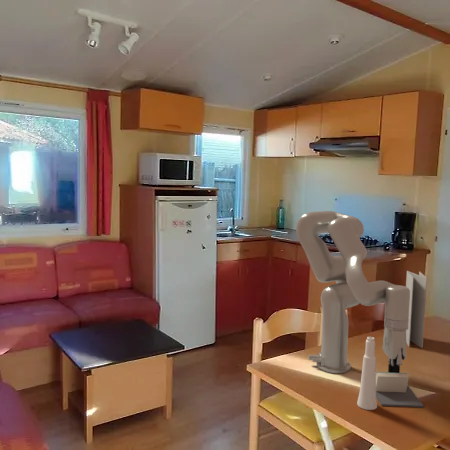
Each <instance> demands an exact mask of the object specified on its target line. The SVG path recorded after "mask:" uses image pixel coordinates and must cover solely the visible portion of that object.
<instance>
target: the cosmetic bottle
mask: <svg viewBox="0 0 450 450" xmlns="http://www.w3.org/2000/svg"><path fill="white" fill-rule="evenodd" d="M375 349H376V341H375V337H373V336H367V337H366V340H365V352H364V355H363V358H362V367H361V377H360V378H361V379H360V387H359V393H358V397H357V402H356V405H357V406H358V407H359V408H361V409H363V410H366V411H367V410H368V411H373V410H376V409H377V408H378V403H377V402H378V399H377V397H376V372H377V367H376V366H377V357H376V356H375V352H376V351H375Z"/></svg>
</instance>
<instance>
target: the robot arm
mask: <svg viewBox="0 0 450 450" xmlns="http://www.w3.org/2000/svg"><path fill="white" fill-rule="evenodd" d="M364 227H365V226H364V225H363V223H362V221H361V220H360V219H359V218H357V217H355V216H352V215H349V214H344V213H340V212H337V211H332V210H321V211H319V210H318V211H310V212H305V213H304V214H302V215H301V216H300V217H299V218H298V220H297V223H296V237H297V239H298V241H299V244H300V245H301V247H302V249H303V252H304V253H305V256H306V258H307V260H308V263H309V265H310V268H311V270H312V273H313V275H314V276H315V278H316V281H318V282H319V283H323V284H324V283H332V282H335V283H334V284H330V285H327V286H326V287H325V288H323V290H322V292H321V294H320V303H321V313H322V316H321V317H322V318H321V319H322V321H321V349H320V350H321V351H319V354H308V356H307V357H308V358H307V359H308V360H309V361H310V360H311V361H312V362H313V363H316V367H317V368H318V369H319V370H321V371H324V372H327V373H331V374H345V373H348V372H350V371H351V369H352V366H351V364H350V362H348V346H349V345H348V344H349V317H348V314H347V312H346V309H349V308H352V307H355V306H358V305H359V304H361V305H362V306H366V307H370V306H371V307H372V306H375V305H378V304H384V319H383V320H384V322H383V323H384V324H383V327H384V328H383V329H384V330H383V337H382V339H383V340H382V351H383V353H384V354H385V355H386V356H387V357H388V367H387V368H388V369H387V372H391V373H401V372H400V371H401V366H402V365H403V361H405V360H406V358H407V343H406V330H408V323H409V304H410V290H409V288H407V287H406V285H401V284H400V285H399V284H394V283H391V282H389V281H386V280H383V279H382V280H375V281H371V282H369V281H368V280H367V278H366V276H365V275H364V271H363V269H362V267H363V266H362V264H363V260H364V259H365V258H366V257H367V254H368V250H367V249H366V246H365V245H364V243H363V242H362V240H361V237H362V236H363V234H364V231H365V229H364ZM327 233H328V235H329V236H330V238H331V240H332V241H333V243H334V245H335V247H336V249H337V250H338V252H339V253H340V255H333V256H332V254H331V253H330V250H329V247H328V245H327V243H326V242H325V241H324V240H323V239H322V238H321V237H320V236H319V234H327Z"/></svg>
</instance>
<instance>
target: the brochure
mask: <svg viewBox="0 0 450 450" xmlns="http://www.w3.org/2000/svg"><path fill="white" fill-rule="evenodd" d="M405 280H406V281H405V287H407V288H409V290H410V304H409V323H408V330H406V345H407V346H408V348H410V346H411V342H412V343H413V344H415V345H417V346H418V347H420V348H421V349H423V347H424V332H425V318H426V317H425V314H426V305H427V303H426V302H427V285H428V278H427V277H426V275H424V274H423V273H422V272H421V271H419V272H418V274H417V273H414V272H411V271H410V270H406V279H405Z"/></svg>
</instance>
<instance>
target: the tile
mask: <svg viewBox="0 0 450 450" xmlns="http://www.w3.org/2000/svg"><path fill="white" fill-rule="evenodd" d="M409 379H410V376H409V373H408V372H400V373H391V372H388V371H386V372H385V371H376V391H381V392H406V389H407V385H408V384H409ZM408 386H409V385H408Z"/></svg>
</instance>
